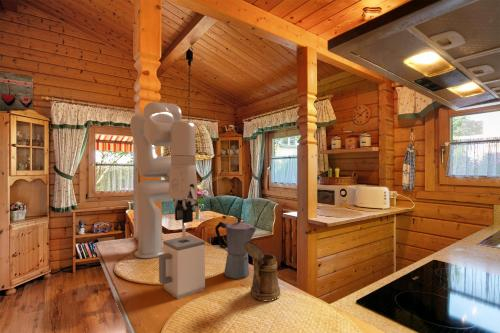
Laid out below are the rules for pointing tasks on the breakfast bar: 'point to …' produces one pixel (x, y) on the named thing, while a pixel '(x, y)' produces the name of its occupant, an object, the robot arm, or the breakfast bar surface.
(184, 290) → the carafe
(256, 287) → the wooden mug
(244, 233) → the moka pot
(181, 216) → the plunger
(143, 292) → the breakfast bar surface
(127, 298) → the breakfast bar surface
